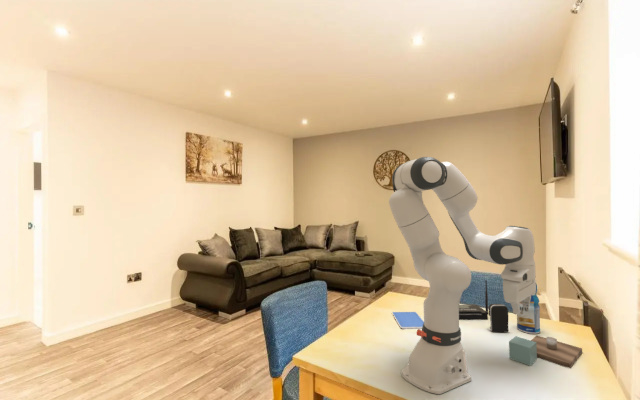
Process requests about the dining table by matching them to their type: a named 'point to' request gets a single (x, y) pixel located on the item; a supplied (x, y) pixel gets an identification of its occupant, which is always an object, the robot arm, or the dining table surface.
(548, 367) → the dining table surface
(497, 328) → the battery charger
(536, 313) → the beverage bottle
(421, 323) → the tablet computer
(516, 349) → the sage green cube
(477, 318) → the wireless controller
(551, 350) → the stub plate
